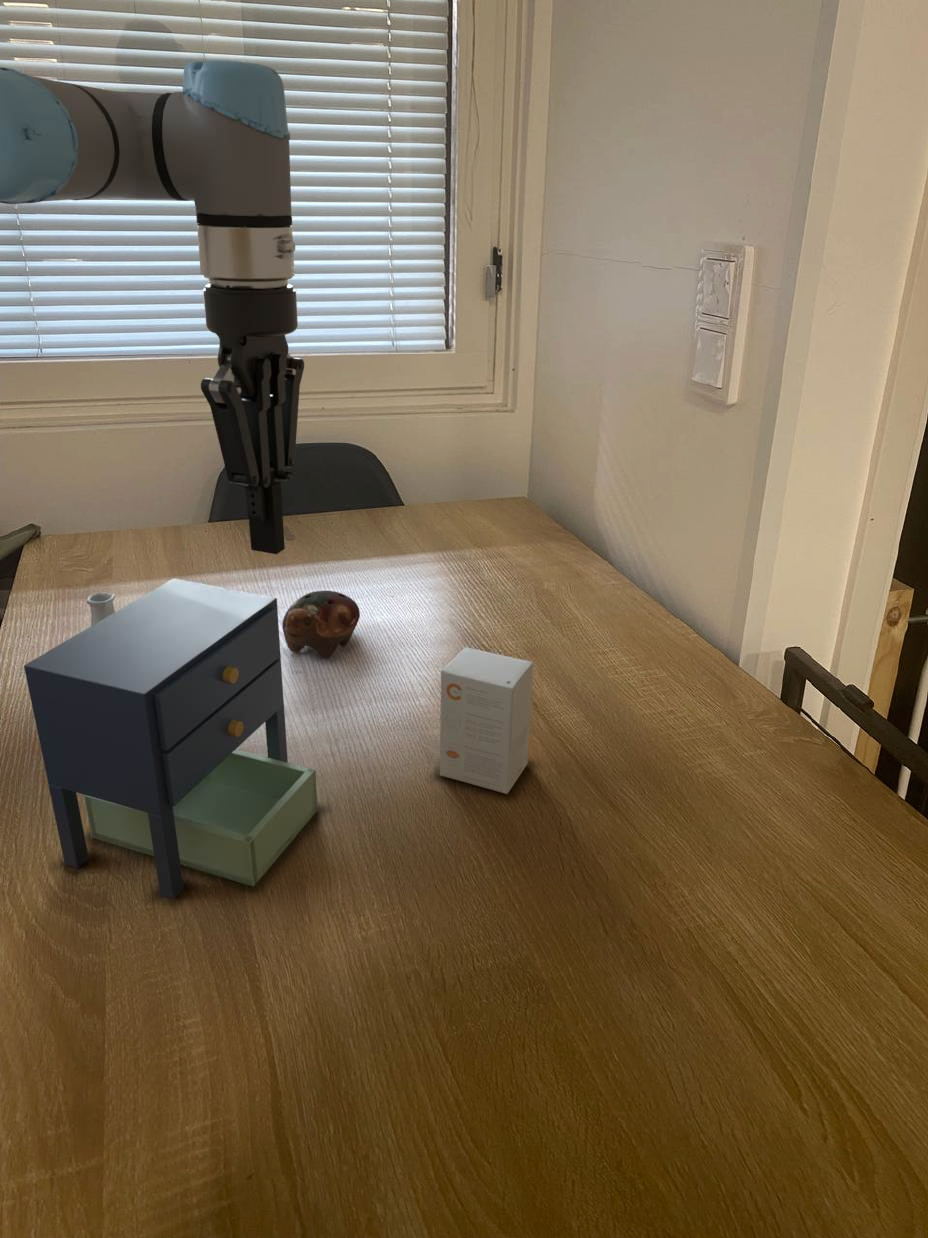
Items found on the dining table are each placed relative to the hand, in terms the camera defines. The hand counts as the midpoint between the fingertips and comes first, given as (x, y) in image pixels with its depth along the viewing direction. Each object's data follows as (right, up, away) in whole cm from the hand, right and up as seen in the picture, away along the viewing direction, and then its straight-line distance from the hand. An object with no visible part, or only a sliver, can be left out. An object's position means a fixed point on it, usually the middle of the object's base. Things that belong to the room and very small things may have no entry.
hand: (268, 549), depth 85 cm
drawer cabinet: (-10, -26, +6) cm, 29 cm away
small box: (+20, -23, +14) cm, 34 cm away
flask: (-27, -13, +33) cm, 44 cm away
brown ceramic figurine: (-1, -10, +39) cm, 41 cm away
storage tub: (-7, -27, +5) cm, 28 cm away
